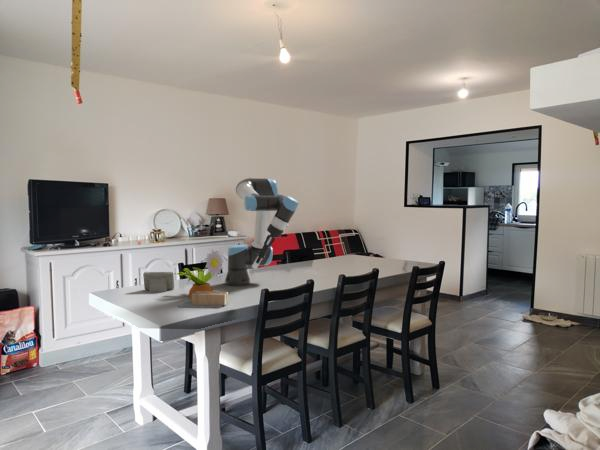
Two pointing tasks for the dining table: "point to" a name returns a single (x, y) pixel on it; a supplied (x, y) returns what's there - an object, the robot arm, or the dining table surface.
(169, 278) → the digital clock
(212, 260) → the decorative plant
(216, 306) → the slate mat
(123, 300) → the dining table surface
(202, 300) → the wooden block
